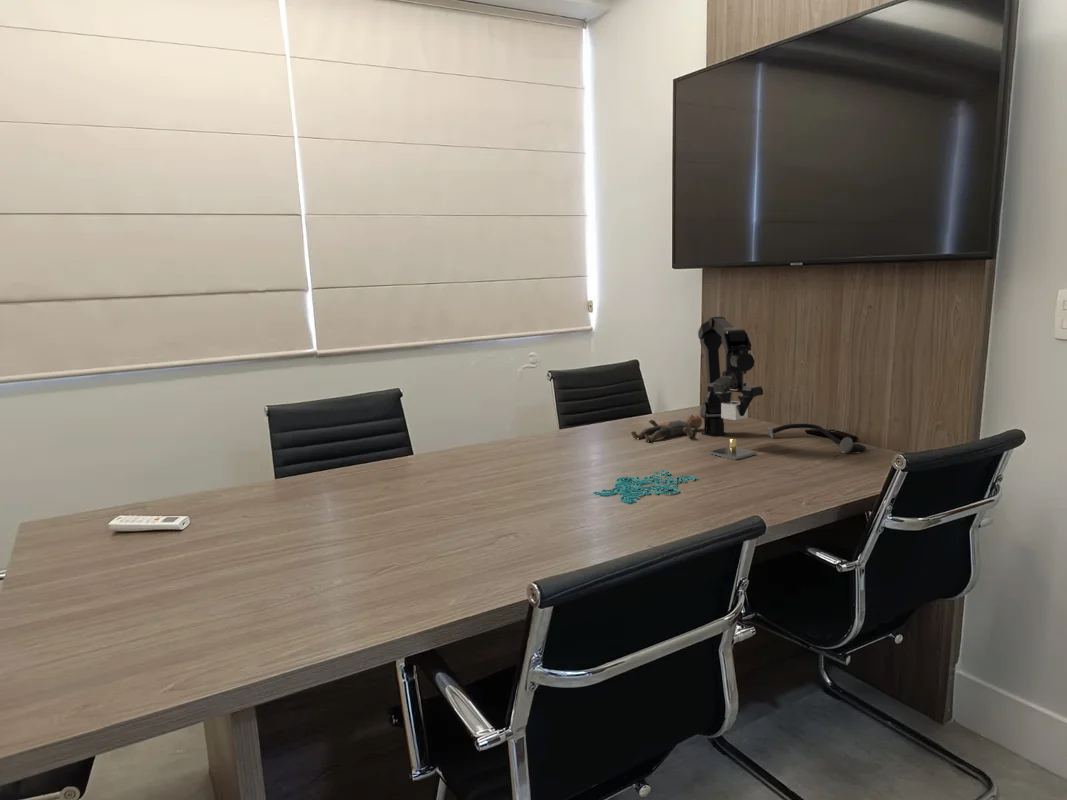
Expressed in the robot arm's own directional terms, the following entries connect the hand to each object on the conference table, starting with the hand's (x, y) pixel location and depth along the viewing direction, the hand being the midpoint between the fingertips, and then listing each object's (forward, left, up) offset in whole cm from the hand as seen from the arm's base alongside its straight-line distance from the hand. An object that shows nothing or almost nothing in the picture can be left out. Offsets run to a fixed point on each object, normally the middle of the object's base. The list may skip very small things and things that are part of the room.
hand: (734, 414), depth 227 cm
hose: (+14, +24, -12) cm, 30 cm away
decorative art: (+12, -51, -12) cm, 54 cm away
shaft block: (+5, -7, -11) cm, 14 cm away
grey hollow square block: (0, 0, -1) cm, 1 cm away
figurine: (-29, -1, -12) cm, 31 cm away
